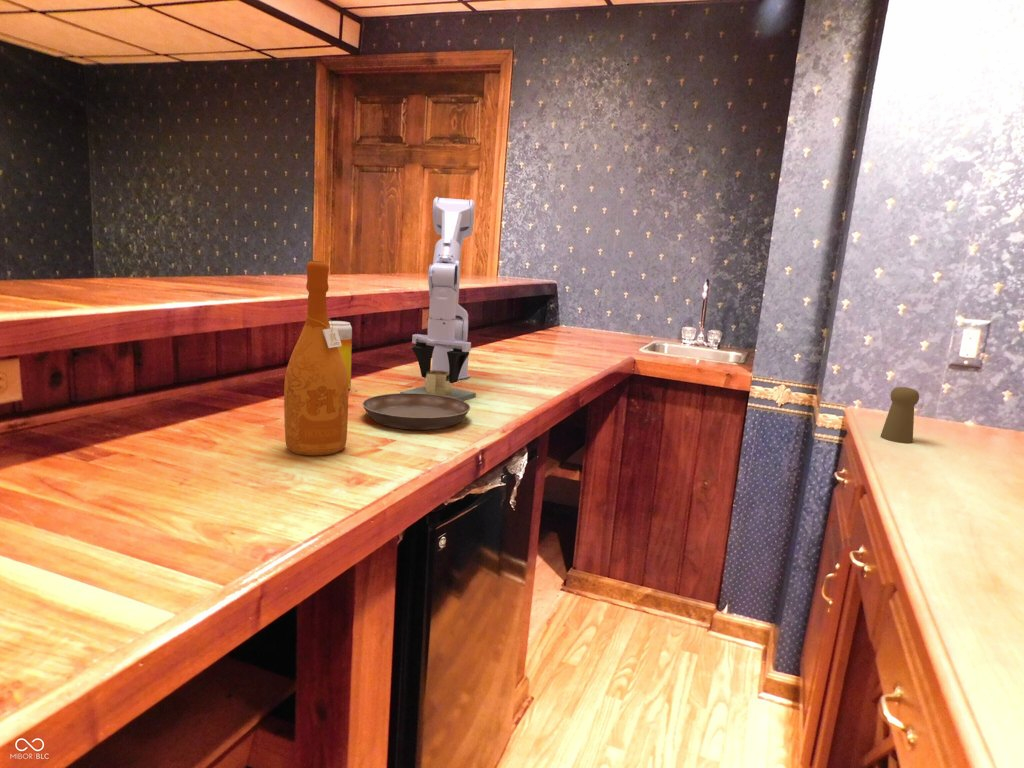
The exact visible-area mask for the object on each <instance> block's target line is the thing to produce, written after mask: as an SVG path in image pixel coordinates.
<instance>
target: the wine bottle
mask: <svg viewBox="0 0 1024 768" xmlns="http://www.w3.org/2000/svg"><path fill="white" fill-rule="evenodd" d="M305 269H306V279H307V280H306V284H305V285H306V286H305V288H306V290H307V291H308V295H307V310H306V311H307V313H306V316H305V322H304V325H303V328H302V330H301V333H300V336H299V338H298V339H297V342H296V344H295V345H294V347H293V350H292V353H291V355H290V357H289V361H288V364H287V367H286V370H285V371H286V372H285V376H284V384H283V385H284V387H283V389H284V390H283V407H284V408H283V410H284V411H283V412H284V413H283V414H284V438H285V439H284V440H285V446H286V447H287V449H288V450H289V451H290V452H292V453H294V454H297V455H303V456H311V457H318V456H328V455H333V454H335V453H338V452H340V451H341V450H343V449H344V448H345V446H346V444H347V440H348V438H347V437H348V421H349V389H348V376H347V371H346V367H345V363H344V360H343V357H342V355H341V352H340V350H339V346H342V345H341V341H340V337H339V333H338V329H337V328H333V324H332V328H330V324H329V321H331V323H332V321H333V320H331V319H330V318H329V317H328V307H327V292H328V291H329V288H330V287H329V270H330V266H329V264H328V263H327V262H325V261H321V260H311V261H308V262H307V264H306V268H305Z"/></svg>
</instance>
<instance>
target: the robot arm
mask: <svg viewBox="0 0 1024 768" xmlns="http://www.w3.org/2000/svg"><path fill="white" fill-rule="evenodd" d="M432 203H433V204H432V222H433V228H434V232H435V233H436V234H437V235H440V236H441V238H440V239H438V241H437V242H436V243H435V245H434V251H433V252H434V253H433V258H432V264H429V267H428V274H427V283H428V284H427V285H428V297H429V313H428V320H427V321H428V323H427V334H420V333H415V334H412V337H411V339H412V341H411V343H412V344H415V345H413V346H412V347H411V348H412V351H413V353H414V355H415V358H416V360H417V362H418V366H419V369H420V375H421V378H425V379H426V371H430V370H443V371H449V383H452V384H455V383H458V381H459V380H463V379H466V378H470V377H471V375H470V374H469V373H468V371H469V370H468V369H469V355H470V352H471V351H472V342H470V341H468V333H469V313H468V311H467V309H465V308H464V307H463V306H462V305H461V304H459V295H460V278H461V263H462V262H461V260H462V249H463V244H464V241H465V239H466V238H469V237H470V236H472V233H473V231H474V224H475V211H476V210H475V207H476V204H475V201H474V199H461V198H450V197H449V198H447V197H439V196H436V197H435V198H434V199H433V202H432Z"/></svg>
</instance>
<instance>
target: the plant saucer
mask: <svg viewBox="0 0 1024 768" xmlns="http://www.w3.org/2000/svg"><path fill="white" fill-rule="evenodd" d="M362 407H363V408H364V410H365V411H366V414H368V415H369V417H371V418H372V419H373V420H374V421H375V422H377V423H378V424H381V425H383V426H386V427H389V426H390V427H391V428H395V429H399V430H400V429H402V430H409V429H411V431H429V429H432V430H439V429H440V428H441V429H446V428H449V427H452V426H454V425H456V424H458V423H459V422H460V421H461V420H462V419H464V418H465V417H466V416H467V414H468V413H469V411H470V410H471V406H470V404H469V403H467V402H466V401H465V400H464V401H461V400H458V399H455V398H451V397H446V396H440V395H431V394H418V393H388V394H381V395H375V396H371V397H368V398H366V399H364V400H363V402H362ZM445 427H446V428H445ZM441 429H440V430H441Z"/></svg>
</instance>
